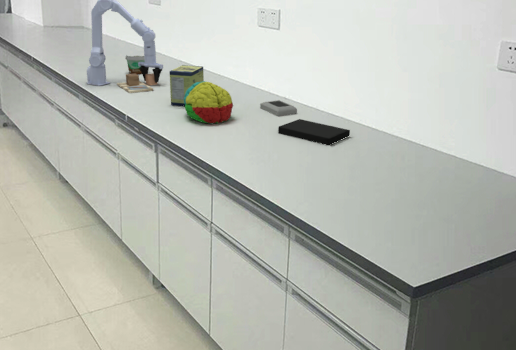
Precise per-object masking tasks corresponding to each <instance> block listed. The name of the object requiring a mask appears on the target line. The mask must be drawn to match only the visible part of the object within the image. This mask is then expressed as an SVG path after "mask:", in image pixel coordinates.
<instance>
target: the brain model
mask: <svg viewBox="0 0 516 350" xmlns="http://www.w3.org/2000/svg"><path fill="white" fill-rule="evenodd" d="M184 104H185V105H186V106H184V108H185V112H186V114H187V116H189V117H190V118H191V119H192V120H195V121H198V122H200V123H203V124H204V123H205V124H209V123H213V124H219V123H221V124H222V123H223V122H224V123H225V122H227V121H228V120H229V119H230V118H231V116H232V112H233V111H232V109H233V107H234V105H233V100H232V96H231V94H230V93H229V91H228V90H227V89H225V88H223V87H221V86H218V84H214V83H213V82H211V81H210V82H209V81H206V80H205V81H202V82H196V83H194V84H193V85H192V86H191V87H190V88H188V89H187V91H186V93H185V96H184Z"/></svg>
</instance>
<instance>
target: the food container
mask: <svg viewBox="0 0 516 350" xmlns="http://www.w3.org/2000/svg"><path fill="white" fill-rule="evenodd" d="M125 60H126V63H127V69H128V74H137V75H139V76H140V75H142V73H141V71H140V69H139V68H140V67H141V66H138V62H145V59H144V55H133V56H131V55H127V54H126V56H125Z"/></svg>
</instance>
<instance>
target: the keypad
mask: <svg viewBox="0 0 516 350" xmlns="http://www.w3.org/2000/svg"><path fill="white" fill-rule="evenodd" d="M259 105H260V106H259V108H260V109H261V110H263V111H264V112H267V113H269V114H272V115H274V116H276V117H283V116H284V115H285V116H291V115H296V114H295V113H298V109H297V108H296V107H295V106H294V105H292V104H289V103H287V102H285V101H283V100H280V99H279V100H271V101H264V102H261V103H260V104H259ZM290 114H291V115H290Z"/></svg>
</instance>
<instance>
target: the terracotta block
mask: <svg viewBox="0 0 516 350" xmlns="http://www.w3.org/2000/svg"><path fill="white" fill-rule="evenodd" d="M145 77H146V81H145V84H146V85H148V86H155V85H156V86H157V85H158V82H157V83H155V80H154V73H153V72H152V73H148V74H145Z"/></svg>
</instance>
